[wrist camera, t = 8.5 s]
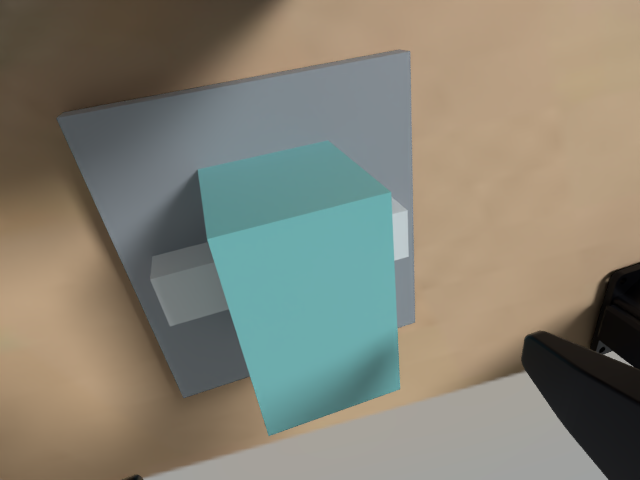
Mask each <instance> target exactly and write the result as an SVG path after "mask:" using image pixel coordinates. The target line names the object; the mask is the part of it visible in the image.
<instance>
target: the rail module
mask: <svg viewBox="0 0 640 480" xmlns="http://www.w3.org/2000/svg"><path fill="white" fill-rule="evenodd" d="M198 176H199V183H200V191H201V198H202V205H203V213H204V220H205V227H206V235H207V240H208V244H209V247H210V250H211V253H212V256H213V260H214V263H215V266H216V269H217V272H218V276H219V279H220V282H221V285H222V288H223V291H224V295H225V298H226V301H227V304H228V307H229V311H230V314H231V317H232V320H233V323H234V327H235V330H236V333H237V336H238V339H239V343H240V346H241V349H242V352H243V355H244V358H245V362H246V365H247V368H248V371H249V374H250V378H251V381H252V384H253V387H254V390H255V394H256V397H257V400H258V403H259V406H260V409H261V413H262V416H263V419H264V422H265V425H266V429H267V432H268V435H269V436H270V435H273V434H276V433H279V432H282V431H284V430H287V429H290V428H293V427H296V426H298V425H301V424H304V423H307V422H310V421H312V420H315V419H318V418H321V417H324V416H326V415H329V414H332V413H335V412H338V411H340V410H343V409H346V408H349V407H352V406H354V405H357V404H360V403H363V402H366V401H368V400H371V399H374V398H377V397H380V396H382V395H385V394H388V393H391V392H394V391H396V390H399V389H400V375H399V353H398V331H397V309H396V287H395V265H394V242H393V220H392V198H391V191H389V190H388V189H387V188H386V187H384V186H383V185H382V184H381V183H380V182H378V181H377V180H376V179H375V178H373V177H372V176H371V175H370V174H369V173H367V172H366V171H365V170H364V169H362V168H361V167H360V166H359V165H358V164H356V163H355V162H354V161H353V160H351V159H350V158H349V157H348V156H347V155H345V154H344V153H343V152H342V151H340V150H339V149H338V148H337V147H336V146H334V145H333V144H332V143H331V142H329V141H323V142H319V143H314V144H310V145H305V146H301V147H296V148H292V149H287V150H283V151H278V152H274V153H269V154H265V155H260V156H256V157H251V158H247V159H242V160H238V161H233V162H229V163H224V164H220V165H215V166H211V167H206V168H202V169H198Z"/></svg>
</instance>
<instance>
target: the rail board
mask: <svg viewBox="0 0 640 480" xmlns="http://www.w3.org/2000/svg"><path fill="white" fill-rule="evenodd" d="M56 119H57V121H58V123H59V125H60V127H61V130H62V132H63V134H64V136H65V138H66V141H67V143H68V145H69V147H70V149H71V152H72V154H73V156H74V158H75V160H76V163H77V165H78V167H79V169H80V171H81V174H82V176H83V178H84V180H85V182H86V185H87V187H88V189H89V191H90V193H91V196H92V198H93V200H94V202H95V204H96V207H97V209H98V211H99V213H100V215H101V218H102V220H103V222H104V224H105V226H106V229H107V231H108V233H109V235H110V237H111V240H112V242H113V244H114V246H115V248H116V251H117V253H118V255H119V257H120V259H121V262H122V264H123V266H124V268H125V270H126V273H127V275H128V277H129V279H130V281H131V284H132V286H133V288H134V290H135V292H136V295H137V297H138V299H139V301H140V303H141V306H142V308H143V310H144V312H145V314H146V317H147V319H148V321H149V323H150V325H151V328H152V330H153V332H154V334H155V336H156V339H157V341H158V343H159V345H160V348H161V350H162V352H163V354H164V356H165V359H166V361H167V363H168V365H169V367H170V370H171V372H172V374H173V376H174V378H175V381H176V383H177V385H178V387H179V389H180V392H181V394H182V396H183V398H185V397H189V396H192V395H195V394H198V393H201V392H204V391H207V390H210V389H213V388H216V387H219V386H222V385H225V384H228V383H231V382H234V381H237V380H240V379H244V378H247V377H250V374H249V371H248V368H247V365H246V362H245V358H244V355H243V352H242V349H241V346H240V343H239V339H238V336H237V333H236V330H235V327H234V323H233V320H232V317H231V314H230V311H229V307H228V304H227V301H226V298H225V295H224V291H223V288H222V285H221V282H220V279H219V276H218V272H217V269H216V266H215V263H214V260H213V256H212V253H211V250H210V247H209V244H208V240H207V235H206V227H205V220H204V213H203V205H202V198H201V191H200V183H199V176H198V169H202V168H206V167H211V166H215V165H220V164H224V163H229V162H233V161H238V160H242V159H247V158H251V157H256V156H260V155H265V154H269V153H274V152H278V151H283V150H287V149H292V148H296V147H301V146H305V145H310V144H314V143H319V142H323V141H329V142H331V143H332V144H333V145H334V146H336V147H337V148H338V149H339V150H340V151H342V152H343V153H344V154H345V155H347V156H348V157H349V158H350V159H351V160H353V161H354V162H355V163H356V164H358V165H359V166H360V167H361V168H362V169H364V170H365V171H366V172H367V173H369V174H370V175H371V176H372V177H373V178H375V179H376V180H377V181H378V182H380V183H381V184H382V185H383V186H384V187H386V188H387V189H388V190H389V191H391V198H392V220H393V242H394V265H395V287H396V309H397V328H399V327H402V326H405V325H408V324H412V323H415V293H414V238H413V183H412V127H411V72H410V51H405V50H395V51H389V52H384V53H379V54H373V55H368V56H362V57H357V58H352V59H346V60H341V61H336V62H330V63H325V64H320V65H314V66H309V67H304V68H298V69H293V70H288V71H282V72H277V73H272V74H266V75H261V76H256V77H250V78H245V79H240V80H234V81H229V82H224V83H218V84H213V85H207V86H202V87H197V88H191V89H186V90H181V91H175V92H170V93H165V94H159V95H154V96H149V97H143V98H138V99H133V100H127V101H122V102H117V103H111V104H106V105H101V106H95V107H90V108H85V109H79V110H74V111H68V112H63V113H62V114H61V115H59V116H58V117H57V118H56Z"/></svg>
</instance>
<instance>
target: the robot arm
mask: <svg viewBox="0 0 640 480" xmlns="http://www.w3.org/2000/svg"><path fill="white" fill-rule="evenodd" d="M611 351H614V352H615V353H617V354H618V355H619V356H620V357H622V358H623V359H624V360H626V361H627V362H628V363H629V364H631V365H632V366H633V367H632V366H629V365H627V364H625V363H622V362H620V361H617V360H615V359H612V358H610V357H607V356H605V355H603V354H606V353H608V352H611ZM521 361H522V365H523V367H524V369H525V370H526V372H527V373H528V375H529V376H530V378H531V379H532V381H533V382H534V384H535V385H536V386H537V388H538V389H539V391H540V392H541V394H542V395H543V397H544V398H545V399H546V401H547V402H548V404H549V405H550V407H551V408H552V410H553V411H554V412H555V414H556V415H557V417H558V418H559V419H560V421H561V422H562V423H563V425H564V426H565V428H566V429H567V430H568V431H569V433H570V434H571V435H572V436H573V437H574V438H575V440H576V441H577V442H578V443H579V445H580V446H581V447H582V448H583V449H584V451H585V452H586V453H587V454H588V456H589V457H590V458H591V459H592V460H593V462H594V463H595V464H596V465H597V466H598V468H599V469H600V470H601V471H602V472H603V474H604V475H605V476H606V477H607V478H608V480H640V264H637V265H634V266H631V267H628V268H625V269H622V270H619V271H617V272H615V273H614V274H613V275H612V276H611V278H610V280H609V284H608V288H607V291H606V295H605V298H604V302H603V305H602V309H601V312H600V316H599V320H598V323H597V327H596V330H595V334H594V337H593V341H592V344H591V348H590V349H588V348H585V347H583V346H580V345H578V344H575V343H573V342H570V341H568V340H565V339H563V338H560V337H558V336H555V335H553V334H550V333H548V332H545V331H537V332H534V333H532V334H529V335H527V336H526V337H525V339H524V345H523V351H522V357H521ZM122 480H143V478H142V477H141V476H140V475H134V476H131V477H128V478H125V479H122Z"/></svg>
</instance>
